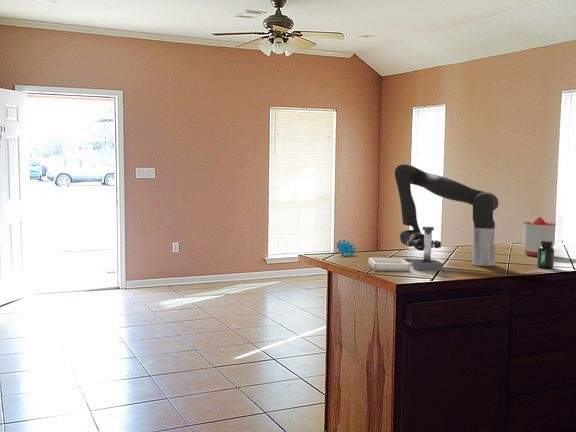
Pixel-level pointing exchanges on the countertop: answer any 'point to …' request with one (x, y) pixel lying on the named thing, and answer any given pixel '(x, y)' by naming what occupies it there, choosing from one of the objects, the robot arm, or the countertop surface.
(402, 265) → the tray
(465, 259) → the countertop surface
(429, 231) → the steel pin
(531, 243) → the citrus juicer
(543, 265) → the supplement bottle
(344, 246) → the gear
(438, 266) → the block
